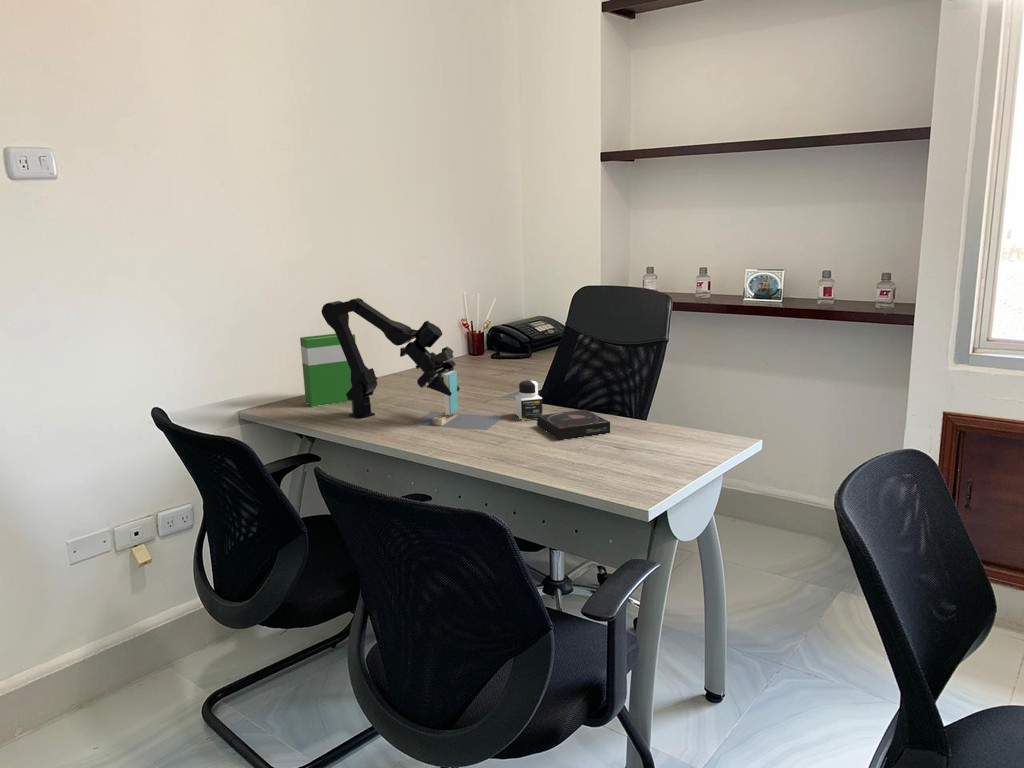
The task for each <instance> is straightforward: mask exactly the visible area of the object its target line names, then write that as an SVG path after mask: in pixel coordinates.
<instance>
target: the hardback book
mask: <svg viewBox="0 0 1024 768" xmlns="http://www.w3.org/2000/svg"><path fill="white" fill-rule="evenodd" d="M352 335H353V338H354V340H355V343H356V334H354V333H352ZM299 343H300V350H301V351H300V352H301V364H302V376H303V385H304V398H305V399H304V400H305V404H306V403H308V404H309V405H311V406H318V405H324V406H326V405H325V404H330V405H333V404H332V403H336V404H340V403H339V402H343V403H346V402H345V401H349V402H352V401H351V400H348V398H347V396H346V393H347V392H348V391H349V390H350V389H351V388H352V384H351V369H350V367H349V365H348V362H347V360H346V357H345V355H344V352H343V350H342V347H341V345H340V343H339V340H338V338H337V335H336V333H329V334H328V333H327V334H321V335H320V334H319V335H318V334H317V335H309V336H302V337H299ZM356 344H357V343H356ZM308 404H307V405H308ZM309 405H308V406H309ZM311 406H310V407H311ZM318 407H319V406H318Z"/></svg>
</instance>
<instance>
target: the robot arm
mask: <svg viewBox="0 0 1024 768" xmlns="http://www.w3.org/2000/svg"><path fill="white" fill-rule="evenodd" d="M351 312H354V313H355V314H357V315H358V316H359V317H361V318H362V319H364V320H365V321H367V322H368V323H369V324H370V325H373V326H374V327H375V328H377V329H378V330H380V331H381V332H382V333H383V335H384V336H385V338H386V339H387V340H388V341H389V342H391V344H393V345H394V346H398V347H399V346H402V345H404V344H406V345H405V346H404V347H400V348H399V350H400V353H399V356H400V357H401V358H402V357H404V356H406V355H407V356H408V357H409V358H410V360H412V361H413V363H414V364H416V365H415V368H416V369H417V370H418V369H420V370H421V371H422V374H421V376H420V377H419V378H417V379H416V380H417V381H416V382H417V385H418V386H419V388H420V389H423V388H425V387H426V388H427V389H431V390H434V391H436V392H439V393H441V394H443V395H444V394H446V395H448V396H451V395H452V393H451V391H450V390H449V388H448V387H447V386H446V384H445V383H444V378H443V374H445V373H447V372H449V371H454V369H455V366H456V365H457V364H456V362H455V361H454V360H453V358H455V357H454V350H453V349H452V348H451V347H449V346H446V347H443V348H441V352H439V353H437V354H436V353H435V352H433V351H432V352H430V351H429V350H428V349H427V348H429V349H430V348H431V347H433V346H434V344H435V343H436V342H438V340H439V339H440V338H441V337H442V336H443V332H442V330H441V328H440V327H439V326H437V325H436V324H434V323H431V322H430V321H429V320H425V321H424V322H423V323H422V324H421V326H420V327H419V328H418V329H413V328H411V327H410V326H409V325H407V324H405V323H402V322H400V321H397V320H393V319H391V318H390V317H387V316H386V315H385V314H383V313H382V312H380V311H379V310H377V309H376V308H374V307H373V306H372V305H370V304H368V303H367V302H365V301H364V300H363V299H362V298H360V297H355V298H353V299H352V298H351V299H350V300H347V301H341V300H337V301H331V302H327V303H325V304H323V305H322V308H321V314H322V317H323V318H324V320H325V322H326V324H327V325H328V326H329V327H330V328H332V330H333V331H334V334H336V335H337V338H338V340H339V343H340V345H341V347H342V350H343V352H344V355H345V357H346V360H347V362H348V365H349V367H350V369H351V384H352V388H351V389H350V390H349V391H348V392H347V393H346V396H347V398H348V400H351V401H350V402H351V413H348V416H349V417H354V418H357V419H362V418H363V419H364V418H365V417H371V416H375V415H376V413H375V412H373V411H372V406H371V398H370V396H373V395H374V391H375V390H376V389H377V386H378V377H377V376H376V374H375V370H374V368H372V367H371V368H368V367H367V366H366V364H365V362H364V359H363V357H362V355H361V353H360V350H359V347H358V345H357V343H355V341H356V339H355V340H354V338H353V333H352V329H351V328H350V326H349V324H350V323H349V320H350V315H349V313H351ZM412 340H413V341H412ZM427 384H428V385H427ZM458 384H459V383H457V391H458V392H459V391H460V390H461V388H460V386H459V385H458Z"/></svg>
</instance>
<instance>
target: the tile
mask: <svg viewBox="0 0 1024 768" xmlns="http://www.w3.org/2000/svg"><path fill="white" fill-rule="evenodd" d="M457 371H458V370H453V371H449V372H447V373H445V374H443V378H444V383H445V384H446V386H447V387H448V388H449V390H450V391H451V393H452V395H451V396H448V395H446V394H443V395H444V396H443V399H444V412H445V415H452V414H453V413H455V412H456V411H458V409H459V399H458V398H459V397H458V396H459V395H458V392H459V391H457V384H458V373H457Z"/></svg>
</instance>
